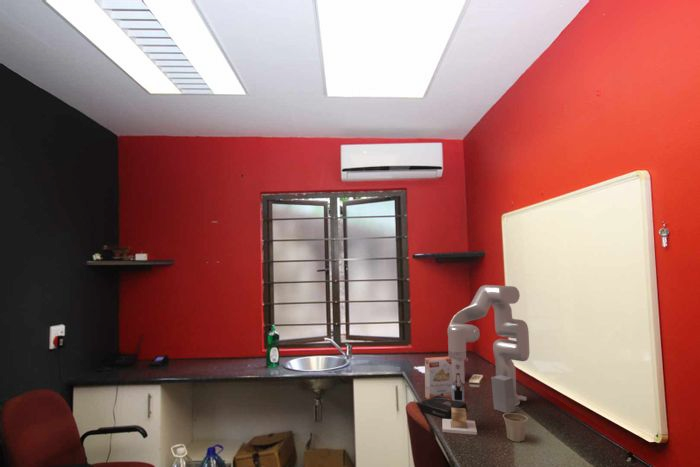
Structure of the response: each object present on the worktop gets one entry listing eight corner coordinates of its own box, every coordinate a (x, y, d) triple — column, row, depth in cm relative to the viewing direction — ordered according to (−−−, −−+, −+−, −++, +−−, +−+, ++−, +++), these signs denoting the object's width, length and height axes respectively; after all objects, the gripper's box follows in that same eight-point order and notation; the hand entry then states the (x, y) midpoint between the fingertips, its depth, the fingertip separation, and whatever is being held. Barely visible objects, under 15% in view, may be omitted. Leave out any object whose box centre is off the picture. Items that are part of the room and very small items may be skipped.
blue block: (463, 397, 182) (463, 385, 183) (464, 401, 177) (464, 389, 178) (451, 396, 183) (451, 385, 184) (452, 400, 178) (452, 388, 179)
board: (474, 423, 184) (474, 420, 184) (477, 434, 172) (477, 431, 172) (442, 421, 187) (442, 418, 187) (442, 432, 175) (442, 428, 175)
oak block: (465, 422, 182) (465, 408, 182) (466, 427, 176) (466, 413, 177) (451, 421, 183) (451, 407, 184) (452, 426, 177) (451, 412, 178)
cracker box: (429, 401, 214) (429, 360, 215) (424, 397, 219) (424, 357, 221) (454, 399, 217) (453, 358, 219) (448, 395, 223) (447, 355, 225)
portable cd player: (466, 411, 200) (466, 403, 201) (447, 420, 189) (446, 411, 189) (438, 403, 212) (437, 395, 213) (417, 411, 201) (417, 403, 201)
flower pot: (522, 433, 173) (521, 412, 174) (532, 443, 164) (531, 421, 164) (499, 434, 173) (499, 413, 173) (509, 444, 163) (508, 421, 164)
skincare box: (516, 411, 198) (515, 377, 199) (505, 414, 195) (504, 380, 196) (501, 406, 206) (500, 373, 207) (491, 409, 202) (490, 375, 203)
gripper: (467, 359, 173) (468, 404, 171) (465, 351, 189) (465, 392, 188) (448, 358, 174) (449, 403, 173) (448, 350, 191) (448, 391, 189)
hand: (458, 397), depth 180 cm, fingers closed on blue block, 5 cm apart
